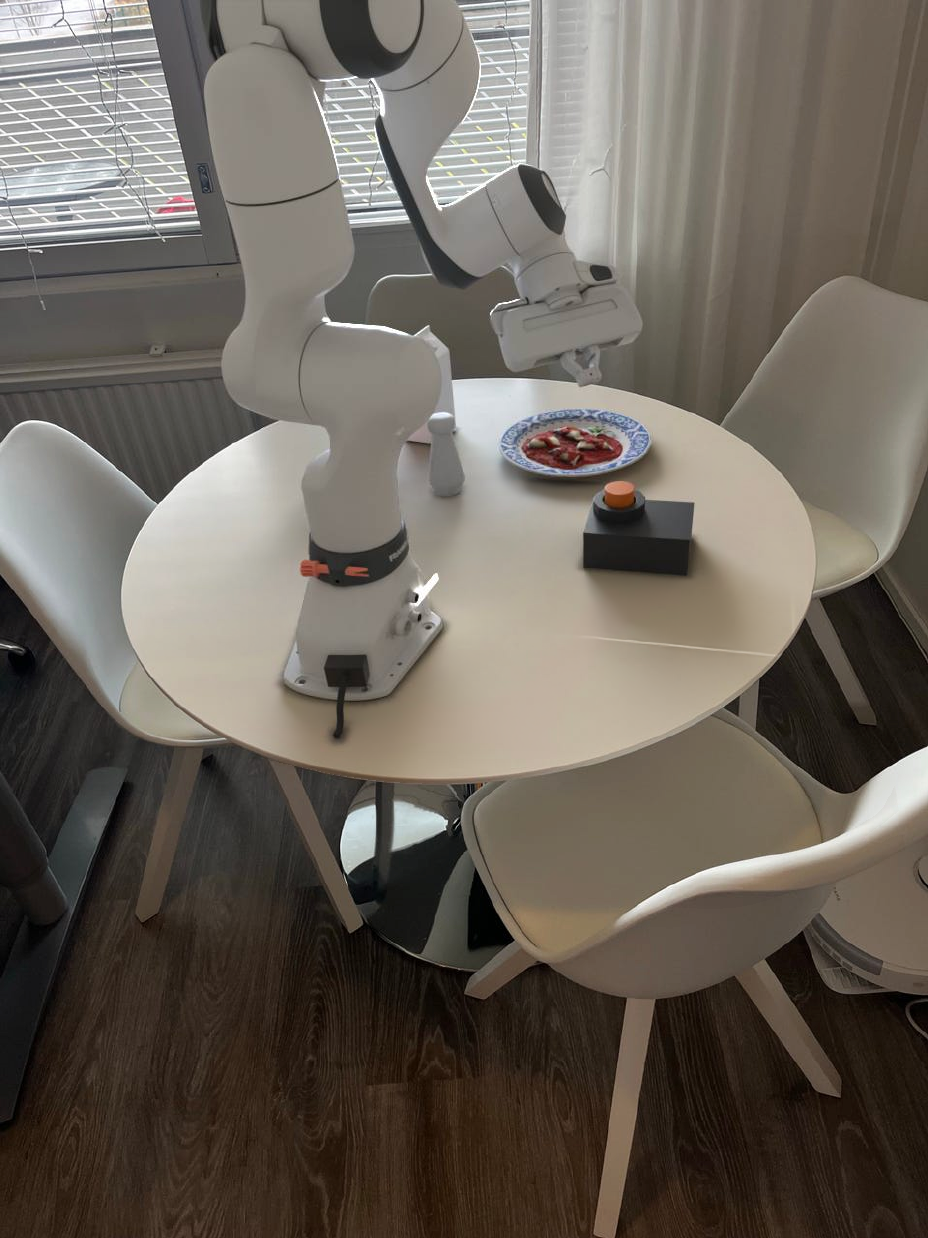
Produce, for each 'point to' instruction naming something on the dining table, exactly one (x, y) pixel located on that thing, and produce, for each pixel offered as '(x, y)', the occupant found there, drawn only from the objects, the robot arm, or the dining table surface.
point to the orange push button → (619, 494)
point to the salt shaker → (444, 456)
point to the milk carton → (447, 390)
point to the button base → (639, 536)
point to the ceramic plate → (575, 442)
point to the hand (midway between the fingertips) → (591, 383)
